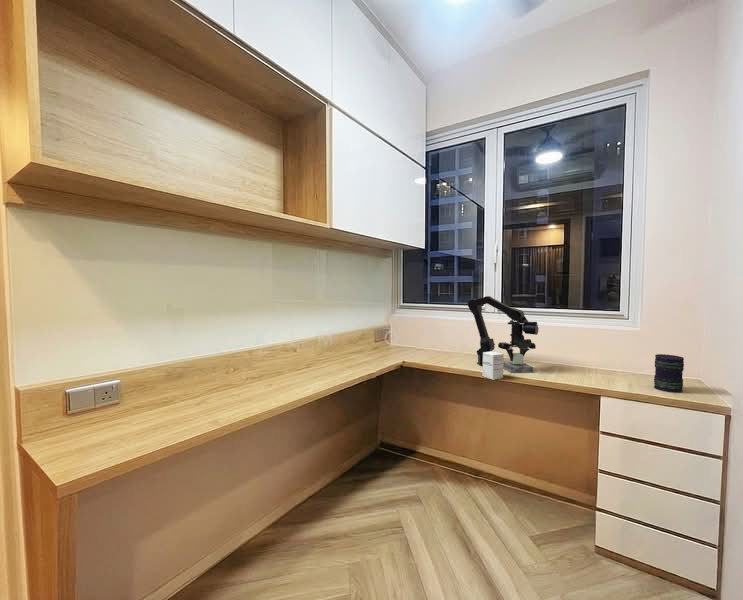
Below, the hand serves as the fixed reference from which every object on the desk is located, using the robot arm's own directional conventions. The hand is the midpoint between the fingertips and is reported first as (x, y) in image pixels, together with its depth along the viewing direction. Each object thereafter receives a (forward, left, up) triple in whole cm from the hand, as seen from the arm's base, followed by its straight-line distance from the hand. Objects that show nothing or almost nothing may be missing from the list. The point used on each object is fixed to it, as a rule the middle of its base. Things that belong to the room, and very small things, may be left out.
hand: (516, 361), depth 186 cm
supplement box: (-19, -13, -5) cm, 24 cm away
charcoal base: (0, 0, -5) cm, 5 cm away
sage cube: (0, 0, -1) cm, 1 cm away
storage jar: (+51, -38, -5) cm, 64 cm away
